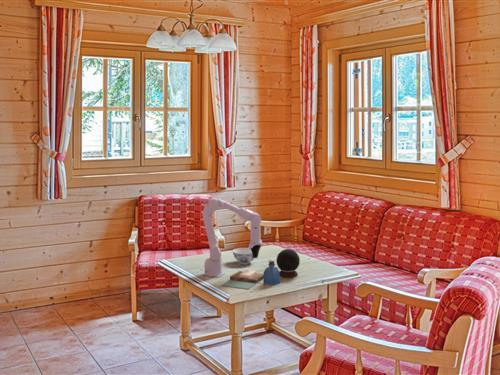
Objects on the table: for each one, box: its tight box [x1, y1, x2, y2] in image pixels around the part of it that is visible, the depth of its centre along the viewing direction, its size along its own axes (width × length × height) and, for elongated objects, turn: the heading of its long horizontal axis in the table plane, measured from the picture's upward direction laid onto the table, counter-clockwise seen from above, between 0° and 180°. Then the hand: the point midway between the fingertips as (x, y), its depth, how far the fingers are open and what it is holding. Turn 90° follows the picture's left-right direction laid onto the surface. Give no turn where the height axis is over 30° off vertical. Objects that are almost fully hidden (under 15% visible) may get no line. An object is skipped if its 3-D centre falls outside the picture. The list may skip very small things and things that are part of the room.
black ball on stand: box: [275, 248, 301, 279], centre depth 315 cm, size 13×13×15 cm
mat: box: [220, 279, 257, 290], centre depth 297 cm, size 16×10×1 cm, turn 67°
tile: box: [239, 269, 257, 278], centre depth 308 cm, size 6×9×2 cm, turn 157°
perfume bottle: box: [262, 260, 281, 286], centre depth 300 cm, size 6×6×12 cm
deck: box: [229, 270, 264, 285], centre depth 308 cm, size 16×12×2 cm
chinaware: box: [232, 247, 255, 265], centre depth 341 cm, size 15×15×8 cm
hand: (255, 257), depth 317 cm, fingers closed
